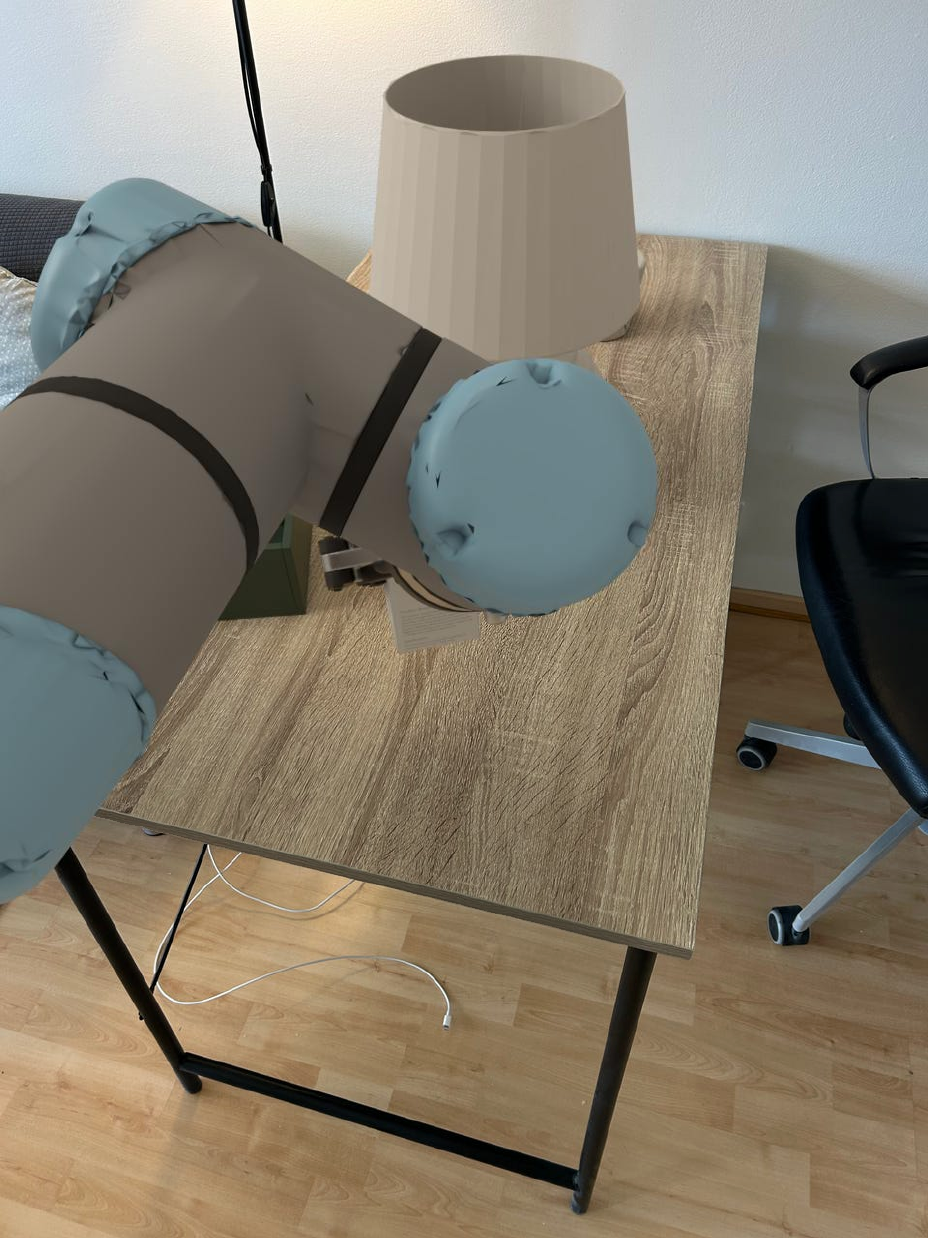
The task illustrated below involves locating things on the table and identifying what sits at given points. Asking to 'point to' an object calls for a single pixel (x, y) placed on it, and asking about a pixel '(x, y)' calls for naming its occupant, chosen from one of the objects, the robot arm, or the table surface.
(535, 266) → the table lamp
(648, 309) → the table surface
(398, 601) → the cosmetic box
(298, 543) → the dark green open box
